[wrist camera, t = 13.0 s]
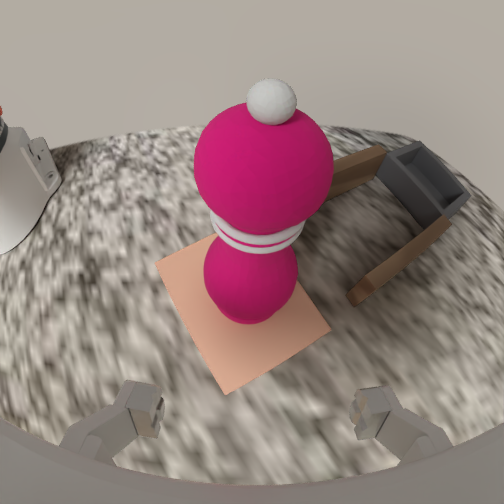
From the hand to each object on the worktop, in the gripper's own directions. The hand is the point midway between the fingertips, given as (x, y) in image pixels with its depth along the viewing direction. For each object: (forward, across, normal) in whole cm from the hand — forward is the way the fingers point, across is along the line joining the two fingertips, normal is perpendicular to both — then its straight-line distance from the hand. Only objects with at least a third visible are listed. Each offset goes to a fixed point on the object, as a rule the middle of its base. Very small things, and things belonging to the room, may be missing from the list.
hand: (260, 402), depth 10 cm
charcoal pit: (+26, -23, -8) cm, 36 cm away
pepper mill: (+16, 0, +2) cm, 16 cm away
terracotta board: (+16, +1, +3) cm, 16 cm away
